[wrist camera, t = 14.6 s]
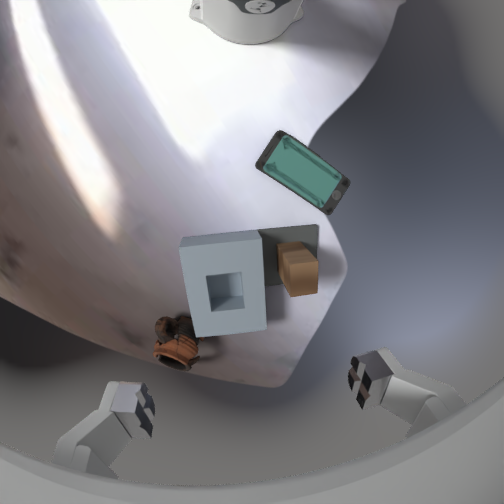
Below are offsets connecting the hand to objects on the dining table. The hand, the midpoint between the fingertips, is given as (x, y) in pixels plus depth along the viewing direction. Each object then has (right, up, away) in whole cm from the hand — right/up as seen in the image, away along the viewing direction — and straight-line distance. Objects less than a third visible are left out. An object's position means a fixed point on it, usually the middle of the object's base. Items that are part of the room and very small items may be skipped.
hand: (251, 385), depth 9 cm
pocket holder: (-5, 0, +37) cm, 37 cm away
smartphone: (+8, +18, +33) cm, 38 cm away
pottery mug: (-14, -10, +40) cm, 43 cm away
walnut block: (+6, +4, +36) cm, 37 cm away
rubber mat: (+6, +4, +37) cm, 38 cm away
